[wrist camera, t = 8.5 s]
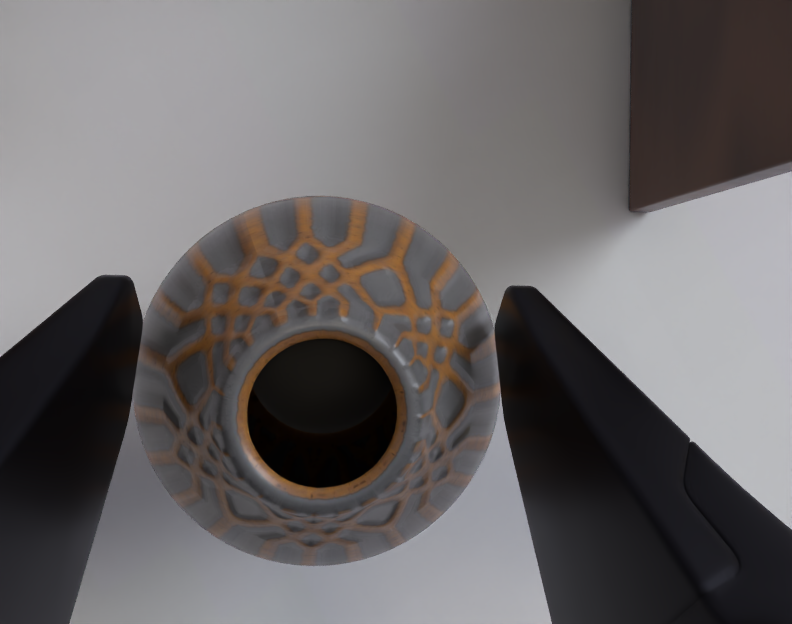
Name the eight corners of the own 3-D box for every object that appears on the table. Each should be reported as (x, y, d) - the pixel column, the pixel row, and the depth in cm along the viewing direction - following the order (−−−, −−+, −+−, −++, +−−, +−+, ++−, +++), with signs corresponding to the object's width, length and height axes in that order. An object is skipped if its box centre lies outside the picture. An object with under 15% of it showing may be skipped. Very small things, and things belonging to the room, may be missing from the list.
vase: (264, 541, 16) (191, 823, 7) (135, 301, 15) (-108, 286, 7) (497, 413, 16) (693, 526, 8) (381, 180, 16) (448, 26, 7)
